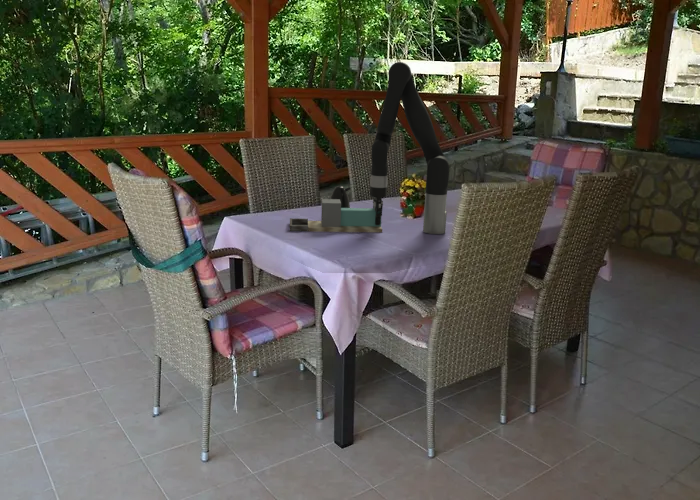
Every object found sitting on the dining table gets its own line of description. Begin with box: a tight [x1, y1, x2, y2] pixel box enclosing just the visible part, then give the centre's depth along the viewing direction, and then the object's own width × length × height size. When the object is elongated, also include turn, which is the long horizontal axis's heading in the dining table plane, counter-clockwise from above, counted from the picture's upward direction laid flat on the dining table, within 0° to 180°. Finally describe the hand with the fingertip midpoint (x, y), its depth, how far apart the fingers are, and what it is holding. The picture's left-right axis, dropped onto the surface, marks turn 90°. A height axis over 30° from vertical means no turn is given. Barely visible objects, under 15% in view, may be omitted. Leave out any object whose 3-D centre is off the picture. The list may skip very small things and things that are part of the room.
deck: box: [289, 217, 383, 233], centre depth 278 cm, size 40×14×2 cm, turn 95°
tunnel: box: [320, 198, 341, 227], centre depth 276 cm, size 8×8×10 cm
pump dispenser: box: [329, 185, 351, 208], centre depth 296 cm, size 10×10×15 cm
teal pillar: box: [341, 207, 382, 227], centre depth 278 cm, size 18×5×7 cm, turn 95°
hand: (376, 223), depth 279 cm, fingers closed on teal pillar, 5 cm apart
